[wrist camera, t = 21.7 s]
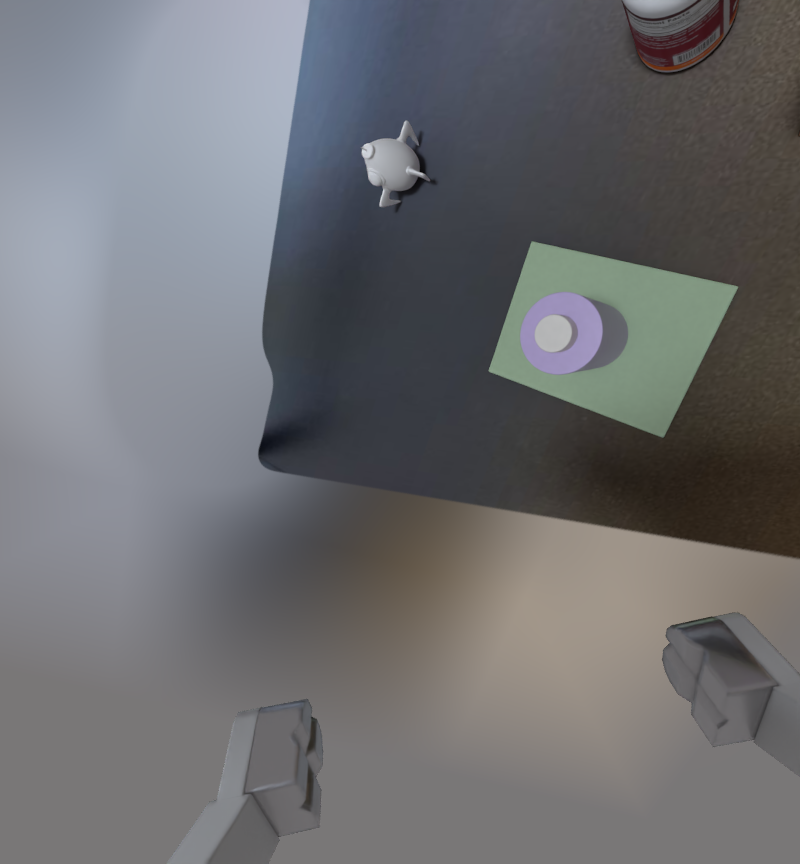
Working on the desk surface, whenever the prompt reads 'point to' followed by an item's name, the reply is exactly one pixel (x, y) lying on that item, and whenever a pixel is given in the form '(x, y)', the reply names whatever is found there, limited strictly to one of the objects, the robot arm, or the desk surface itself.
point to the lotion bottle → (572, 334)
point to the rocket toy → (392, 164)
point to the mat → (647, 334)
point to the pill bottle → (678, 30)
